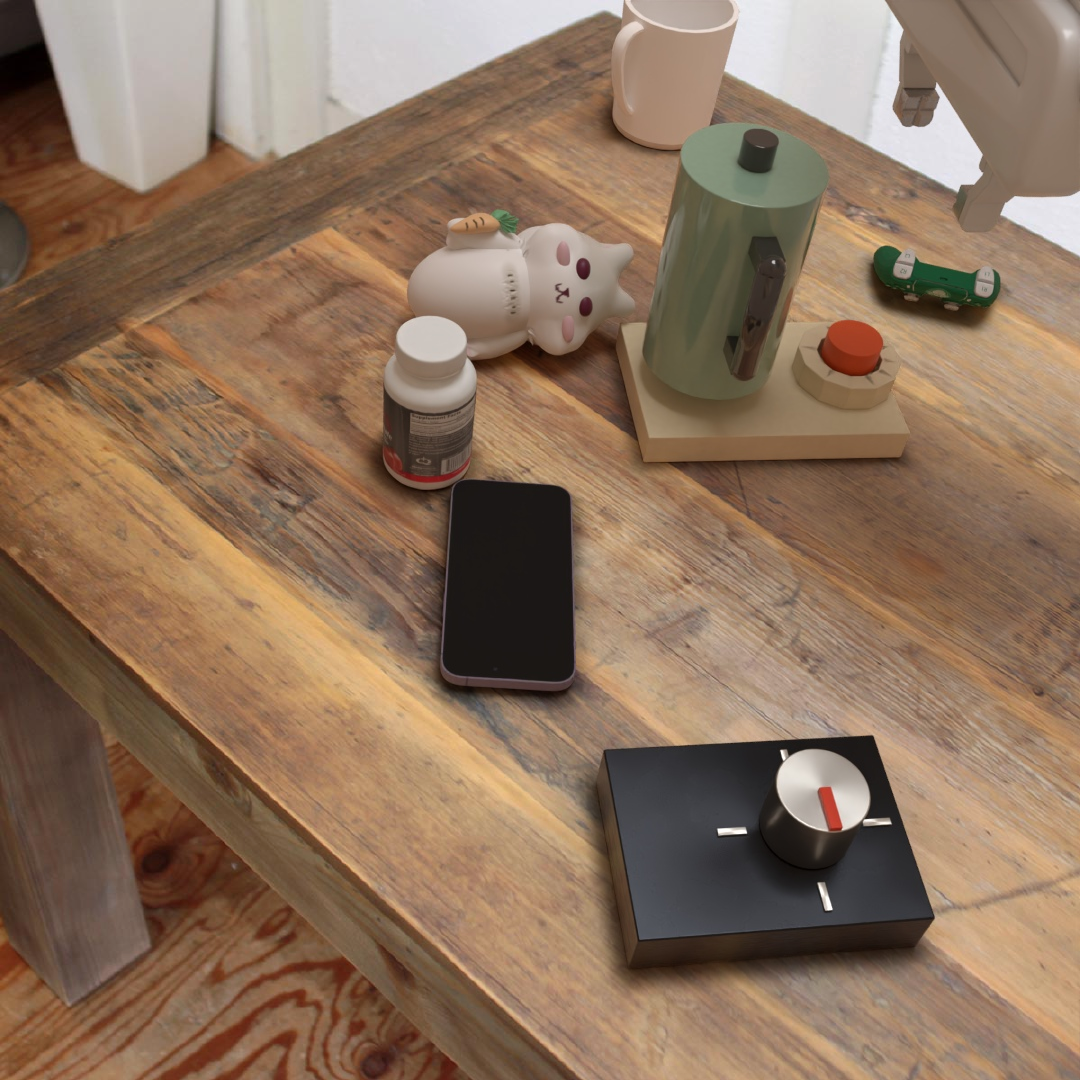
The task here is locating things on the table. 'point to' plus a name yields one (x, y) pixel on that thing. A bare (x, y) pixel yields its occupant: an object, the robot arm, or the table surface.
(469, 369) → the pill bottle
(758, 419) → the kettle base
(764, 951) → the dial panel
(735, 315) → the kettle
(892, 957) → the table surface
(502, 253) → the cat figurine
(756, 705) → the table surface
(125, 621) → the table surface
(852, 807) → the knob
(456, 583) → the smartphone
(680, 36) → the mug
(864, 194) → the table surface
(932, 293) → the gaming controller
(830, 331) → the button
